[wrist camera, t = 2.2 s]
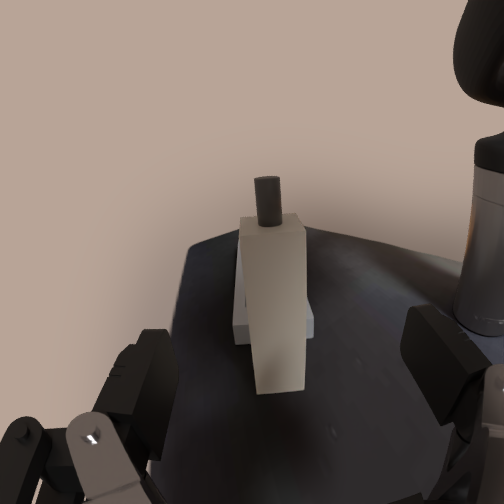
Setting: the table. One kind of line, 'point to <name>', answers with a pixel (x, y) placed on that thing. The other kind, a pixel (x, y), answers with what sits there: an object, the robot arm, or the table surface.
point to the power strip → (241, 309)
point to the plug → (275, 290)
